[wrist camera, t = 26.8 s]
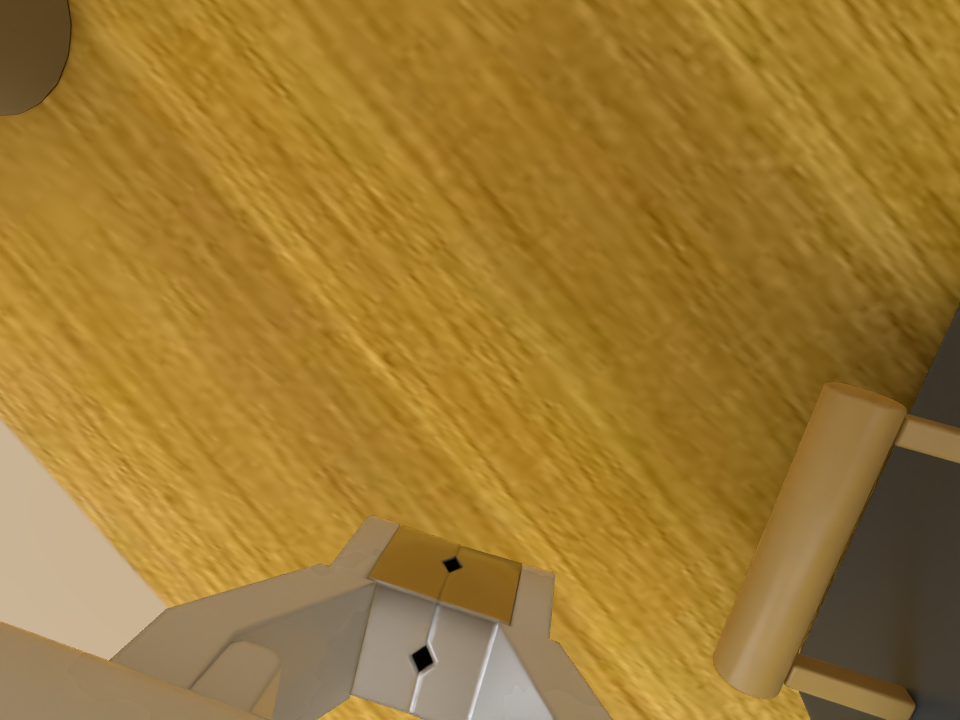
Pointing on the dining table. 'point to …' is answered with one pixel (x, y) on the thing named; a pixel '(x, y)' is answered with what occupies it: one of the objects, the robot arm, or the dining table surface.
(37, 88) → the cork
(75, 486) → the dining table surface
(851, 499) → the drawer
